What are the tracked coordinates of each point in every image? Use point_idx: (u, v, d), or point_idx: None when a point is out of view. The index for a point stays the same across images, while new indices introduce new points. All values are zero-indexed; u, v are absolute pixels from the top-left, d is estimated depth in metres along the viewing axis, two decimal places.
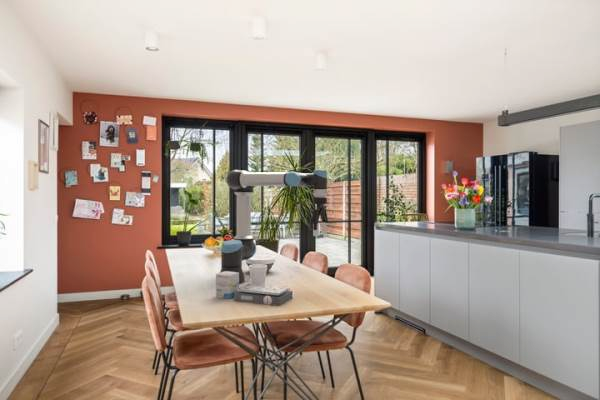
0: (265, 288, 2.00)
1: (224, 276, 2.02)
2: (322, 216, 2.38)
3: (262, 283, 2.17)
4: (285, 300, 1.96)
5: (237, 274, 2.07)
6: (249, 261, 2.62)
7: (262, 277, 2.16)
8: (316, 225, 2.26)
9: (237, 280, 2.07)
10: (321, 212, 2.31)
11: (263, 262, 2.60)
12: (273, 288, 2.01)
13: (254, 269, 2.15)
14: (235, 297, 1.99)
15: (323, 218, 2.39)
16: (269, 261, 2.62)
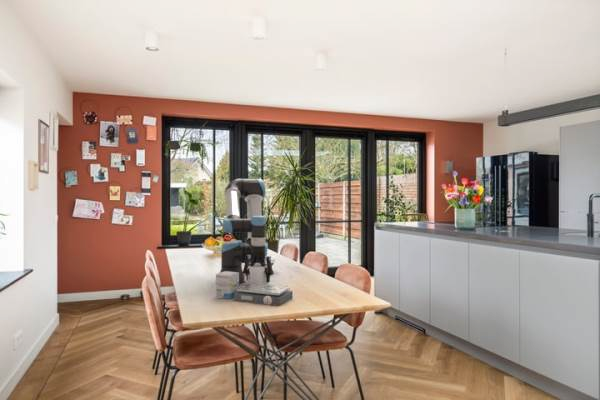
0: (265, 288, 2.00)
1: (224, 276, 2.02)
2: None
3: (262, 283, 2.17)
4: (285, 300, 1.96)
5: (237, 274, 2.07)
6: None
7: (262, 277, 2.16)
8: (247, 275, 2.21)
9: (237, 280, 2.07)
10: (253, 261, 2.18)
11: None
12: (273, 288, 2.01)
13: (254, 269, 2.15)
14: (235, 297, 1.99)
15: None
16: None
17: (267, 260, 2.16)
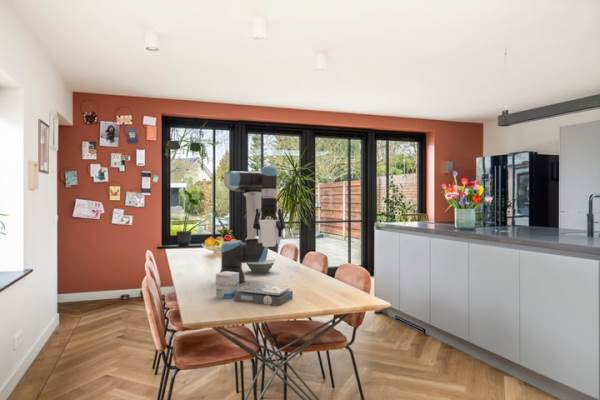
0: (265, 288, 2.00)
1: (224, 276, 2.02)
2: None
3: (273, 237, 2.02)
4: (285, 300, 1.96)
5: (237, 274, 2.07)
6: None
7: (274, 230, 2.02)
8: (257, 231, 2.07)
9: (237, 280, 2.07)
10: (263, 215, 2.04)
11: (263, 262, 2.60)
12: (273, 288, 2.01)
13: (265, 222, 2.01)
14: (235, 297, 1.99)
15: None
16: (269, 261, 2.62)
17: (279, 212, 2.02)
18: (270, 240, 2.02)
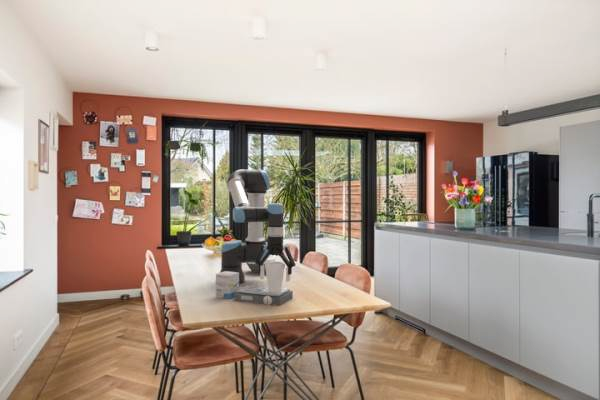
0: (265, 289, 2.01)
1: (224, 276, 2.02)
2: None
3: (280, 282, 1.96)
4: (285, 300, 1.96)
5: (237, 274, 2.07)
6: None
7: (280, 275, 1.96)
8: (259, 266, 2.01)
9: (237, 280, 2.07)
10: (268, 253, 1.98)
11: None
12: None
13: (271, 266, 1.94)
14: (235, 297, 1.99)
15: None
16: (269, 261, 2.62)
17: (286, 251, 1.95)
18: (276, 285, 1.96)
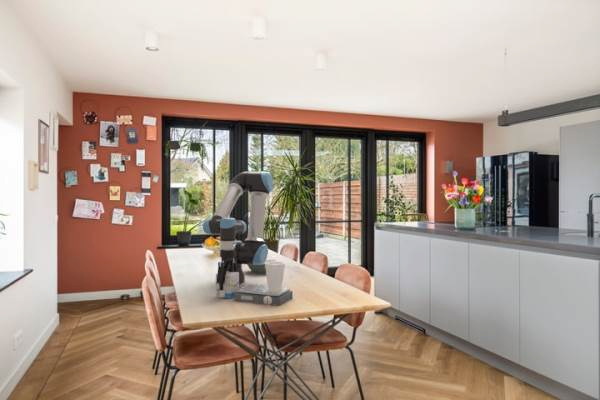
0: (265, 289, 2.01)
1: None
2: (230, 271, 2.09)
3: (280, 282, 1.96)
4: (285, 300, 1.96)
5: (237, 274, 2.07)
6: None
7: (280, 275, 1.96)
8: (222, 285, 2.01)
9: (237, 280, 2.07)
10: (228, 267, 2.04)
11: None
12: None
13: (271, 266, 1.94)
14: (235, 297, 1.99)
15: None
16: (269, 261, 2.62)
17: (236, 262, 2.12)
18: (276, 285, 1.96)
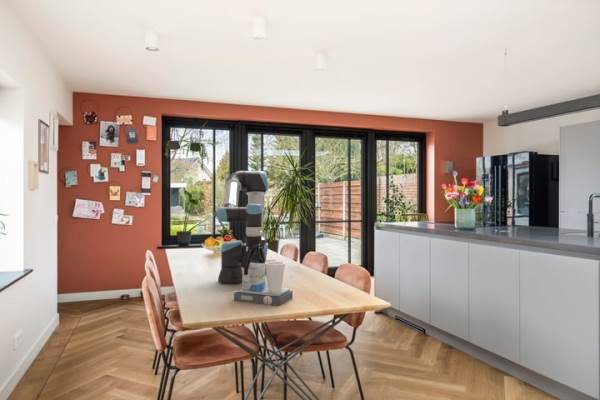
0: (265, 289, 2.01)
1: (251, 267, 1.99)
2: (257, 256, 2.07)
3: (280, 282, 1.96)
4: (285, 300, 1.96)
5: (263, 265, 2.04)
6: None
7: (280, 275, 1.96)
8: (247, 269, 1.96)
9: (263, 271, 2.04)
10: (254, 253, 2.00)
11: None
12: None
13: (271, 266, 1.94)
14: (235, 297, 1.99)
15: (259, 259, 2.08)
16: (269, 261, 2.62)
17: (262, 247, 2.09)
18: (276, 286, 1.96)
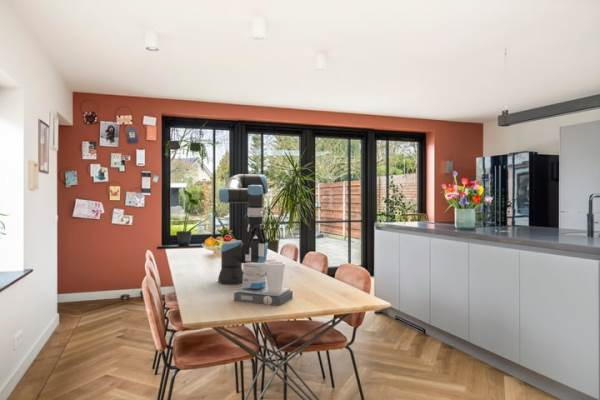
0: (265, 289, 2.01)
1: (252, 265, 2.00)
2: (259, 237, 2.11)
3: (280, 282, 1.96)
4: (285, 300, 1.96)
5: (264, 265, 2.05)
6: None
7: (280, 275, 1.96)
8: (248, 249, 2.00)
9: (264, 271, 2.05)
10: (255, 233, 2.04)
11: None
12: None
13: (271, 266, 1.94)
14: (235, 297, 1.99)
15: (260, 239, 2.12)
16: (269, 261, 2.62)
17: (263, 228, 2.12)
18: (276, 286, 1.96)
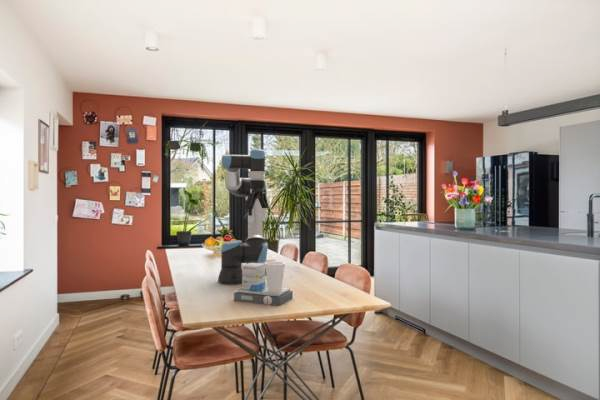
0: (265, 289, 2.01)
1: (251, 267, 1.99)
2: (261, 201, 2.17)
3: (280, 282, 1.96)
4: (285, 300, 1.96)
5: (263, 265, 2.04)
6: None
7: (280, 275, 1.96)
8: (251, 210, 2.06)
9: (263, 271, 2.04)
10: (258, 196, 2.10)
11: None
12: None
13: (271, 266, 1.94)
14: (235, 297, 1.99)
15: (262, 203, 2.18)
16: (269, 261, 2.62)
17: (265, 193, 2.19)
18: (276, 286, 1.96)
